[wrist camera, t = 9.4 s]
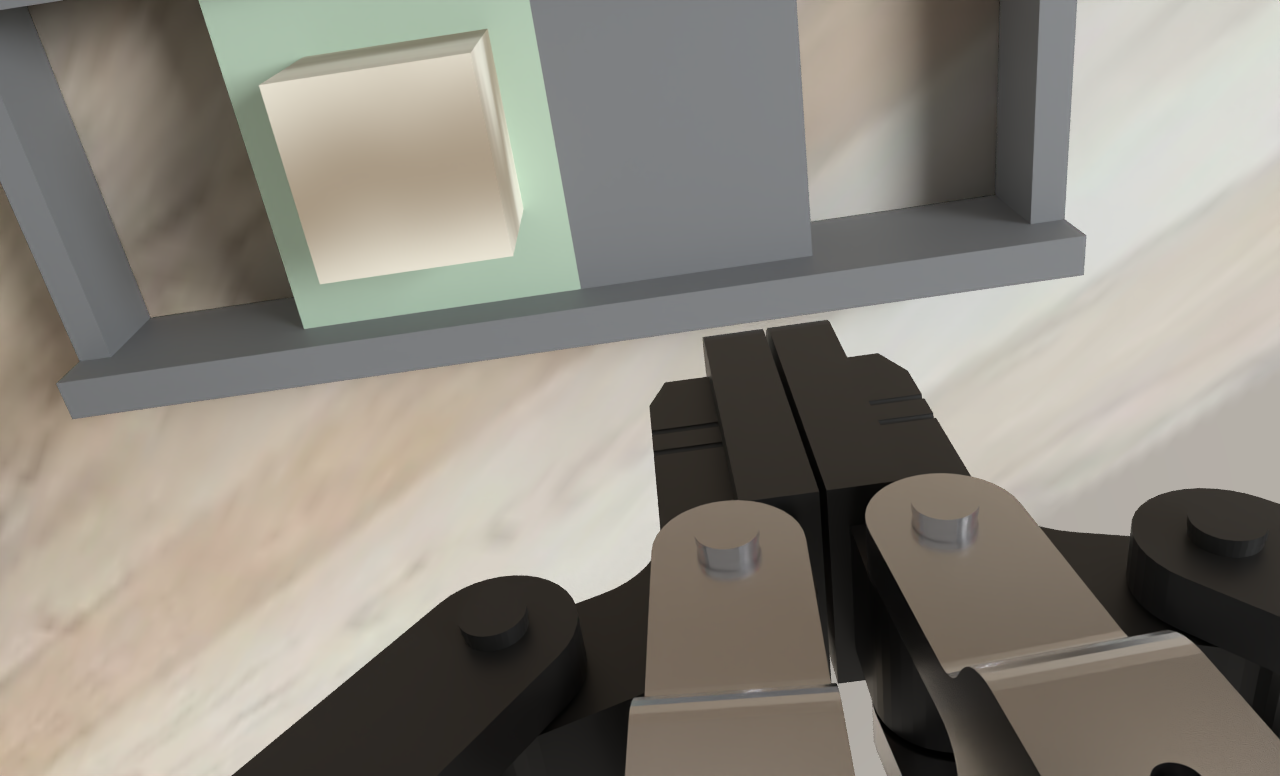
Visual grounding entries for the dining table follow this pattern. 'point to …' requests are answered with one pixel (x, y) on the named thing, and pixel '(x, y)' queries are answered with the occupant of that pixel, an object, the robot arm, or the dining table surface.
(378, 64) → the block
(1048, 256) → the trap lane
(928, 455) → the robot arm
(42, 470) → the dining table surface
